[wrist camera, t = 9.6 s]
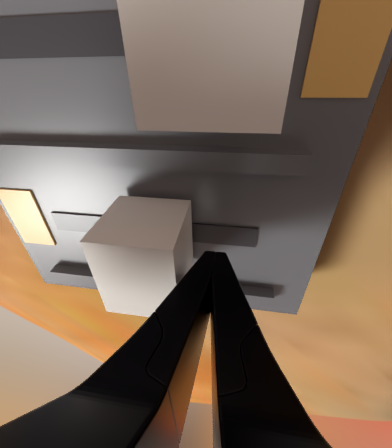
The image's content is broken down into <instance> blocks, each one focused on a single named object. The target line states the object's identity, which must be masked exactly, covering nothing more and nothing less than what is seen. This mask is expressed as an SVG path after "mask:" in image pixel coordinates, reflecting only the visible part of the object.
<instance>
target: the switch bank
mask: <svg viewBox="0 0 392 448" xmlns="http://www.w3.org/2000/svg"><path fill="white" fill-rule="evenodd" d="M391 59H392V0H305V1H304V7H303V13H302V18H301V24H300V29H299V35H298V41H297V46H296V52H295V57H294V63H293V69H292V74H291V80H290V85H289V91H288V97H287V102H286V108H285V113H284V119H283V125H282V130H281V134H267V133H224V132H181V131H138V130H137V128H136V121H135V115H134V108H133V102H132V96H131V89H130V83H129V76H128V70H127V64H126V57H125V51H124V45H123V38H122V32H121V25H120V19H119V13H118V6H117V0H0V204H1V206H2V208H3V210H4V211H5V213H6V215H7V217H8V218H9V220H10V222H11V224H12V225H13V227H14V229H15V231H16V232H17V234H18V236H19V238H20V239H21V241H22V243H23V245H24V246H25V248H26V250H27V252H28V253H29V255H30V257H31V259H32V260H33V262H34V264H35V266H36V267H37V269H38V271H39V273H40V275H41V276H42V278H43V280H44V282H45V283H50V284H58V285H66V286H74V287H81V288H89V289H97V290H98V288H97V285H96V283H95V280H94V278H93V275H92V273H91V270H90V268H89V265H88V262H87V260H86V257H85V255H84V252H83V250H82V247H81V244H80V241H81V239H82V238H83V237H84V236H85V235H86V234H87V232H88V231H89V230H90V229H91V228H92V227H93V225H94V224H95V223H96V222H97V221H98V220H99V219H100V217H101V216H102V215H103V214H104V213H105V212H106V210H107V209H108V208H109V207H110V206H111V205H112V204H113V202H114V201H115V200H116V199H117V198H118V197H119V196H134V197H149V198H165V199H180V200H191V214H192V241H193V265H194V264H195V262H196V261H197V260H198V259H199V258H200V256H201V255H202V254H203V253H204V252H205V251H215V252H225V253H226V254H227V256H228V258H229V260H230V263H231V265H232V267H233V269H234V271H235V274H236V276H237V278H238V280H239V283H240V285H241V287H242V289H243V292H244V294H245V296H246V298H247V301H248V303H249V305H250V307H251V309H256V310H264V311H272V312H280V313H288V314H296V315H297V312H298V309H299V307H300V304H301V301H302V299H303V296H304V293H305V291H306V288H307V285H308V282H309V280H310V277H311V274H312V272H313V269H314V266H315V264H316V261H317V258H318V256H319V253H320V250H321V247H322V245H323V242H324V239H325V237H326V234H327V231H328V229H329V226H330V223H331V221H332V218H333V215H334V213H335V210H336V207H337V204H338V202H339V199H340V196H341V194H342V191H343V188H344V186H345V183H346V180H347V178H348V175H349V172H350V169H351V167H352V164H353V161H354V159H355V156H356V153H357V151H358V148H359V145H360V143H361V140H362V137H363V134H364V132H365V129H366V126H367V124H368V121H369V118H370V116H371V113H372V110H373V108H374V105H375V102H376V100H377V97H378V94H379V91H380V89H381V86H382V83H383V81H384V78H385V75H386V73H387V70H388V67H389V65H390V62H391Z"/></svg>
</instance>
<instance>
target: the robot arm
mask: <svg viewBox="0 0 392 448" xmlns="http://www.w3.org/2000/svg"><path fill="white" fill-rule="evenodd" d="M210 312H211V364H212V414H213V448H332V447H331V446H330V445H329V443H328V442H327V441H326V440H325V439H324V437H323V436H322V435H321V434H320V432H319V431H318V429H317V428H316V427H315V425H314V424H313V422H312V421H311V419H310V418H309V416H308V414H307V413H306V411H305V409H304V408H303V406H302V404H301V403H300V401H299V399H298V397H297V396H296V394H295V392H294V391H293V389H292V387H291V386H290V384H289V382H288V381H287V379H286V377H285V376H284V374H283V372H282V370H281V369H280V367H279V365H278V363H277V362H276V360H275V358H274V356H273V354H272V353H271V351H270V349H269V347H268V345H267V343H266V341H265V338H264V336H263V334H262V332H261V330H260V327H259V326H258V323H257V321H256V319H255V316H254V314H253V312H252V310H251V307H250V305H249V303H248V301H247V298H246V296H245V294H244V292H243V289H242V287H241V285H240V283H239V280H238V278H237V276H236V274H235V271H234V269H233V267H232V265H231V263H230V260H229V258H228V256H227V254H226V253H225V252H215V251H205V252H204V253H203V254H202V255H201V256H200V258H199V259H198V260H197V261H196V262H195V264H194V265H193V266H192V267H191V268H190V269H189V271H188V272H187V273H186V274H185V275H184V277H183V278H182V279H181V280H180V281H179V282H178V284H177V285H176V286H175V287H174V288H173V290H172V291H171V292H170V293H169V294H168V296H167V297H166V298H165V299H164V300H163V301H162V303H161V304H160V305H159V306H158V307H157V309H156V310H155V312H153V313H152V314H151V316H150V317H149V318H148V319H147V320H146V321H145V322H144V324H143V325H142V326H141V327H140V328H139V329H138V330H137V331H136V332H135V333H134V334H133V335H132V336H131V337H130V338H129V339H128V340H127V341H126V342H125V343H124V344H123V345H122V346H121V347H120V348H119V349H118V350H117V351H116V352H115V353H114V354H113V355H112V356H111V357H110V358H109V359H108V360H107V361H105V362H104V363H103V364H102V365H101V366H100V367H99V368H98V369H97V370H96V371H95V372H94V373H93V374H92V375H91V376H90V377H89V378H88V379H86V380H85V381H84V382H83V383H81V384H80V385H79V386H77V387H76V388H75V389H73V390H72V391H70V392H68V393H67V394H65V395H63V396H61V397H59V398H57V399H55V400H53V401H51V402H49V403H47V404H45V405H43V406H41V407H39V408H37V409H34V410H32V411H30V412H29V413H27V414H24V415H22V416H20V417H18V418H16V419H14V420H12V421H10V422H8V423H6V424H4V425H2V426H0V448H179V443H180V440H181V436H182V432H183V427H184V423H185V419H186V414H187V410H188V406H189V402H190V398H191V393H192V389H193V385H194V381H195V376H196V372H197V368H198V364H199V359H200V355H201V351H202V347H203V342H204V338H205V334H206V329H207V325H208V321H209V317H210Z"/></svg>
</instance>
